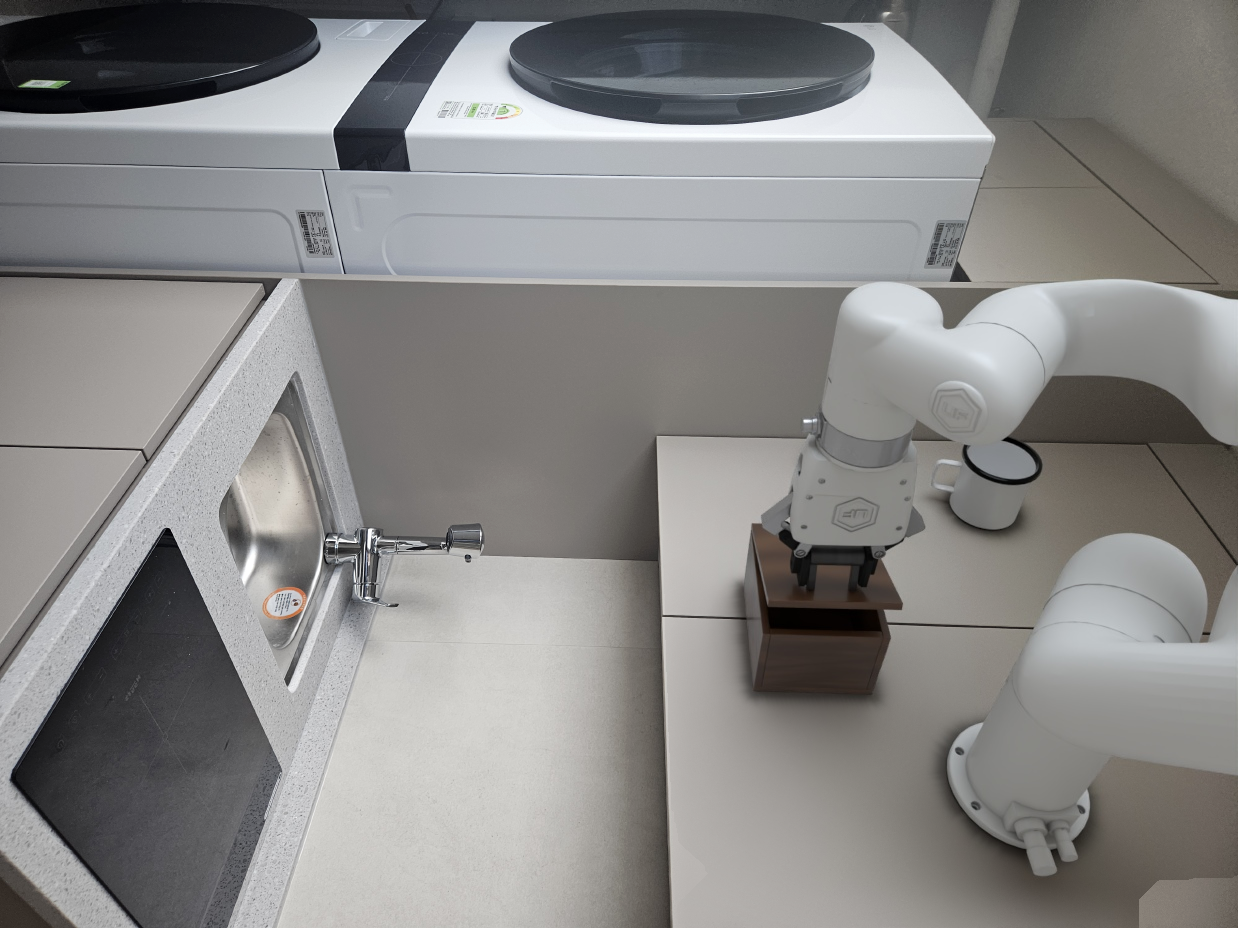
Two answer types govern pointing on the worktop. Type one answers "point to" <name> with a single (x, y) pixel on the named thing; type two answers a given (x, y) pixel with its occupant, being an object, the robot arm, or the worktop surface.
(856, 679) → the chest
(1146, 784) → the worktop surface
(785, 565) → the lid
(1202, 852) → the worktop surface
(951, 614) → the worktop surface
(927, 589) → the worktop surface
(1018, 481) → the mug
